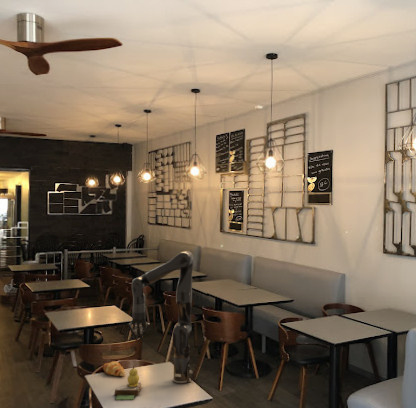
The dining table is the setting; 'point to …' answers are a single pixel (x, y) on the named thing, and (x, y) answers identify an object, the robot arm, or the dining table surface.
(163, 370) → the dining table surface
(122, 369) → the croissant
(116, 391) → the corner fence
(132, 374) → the pear
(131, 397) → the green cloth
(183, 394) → the dining table surface
